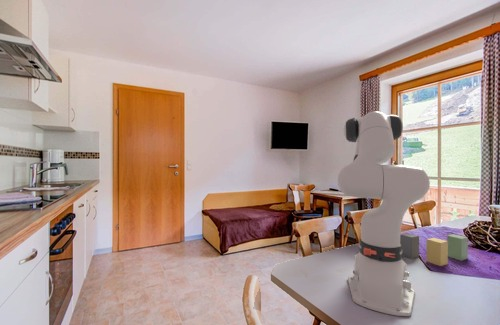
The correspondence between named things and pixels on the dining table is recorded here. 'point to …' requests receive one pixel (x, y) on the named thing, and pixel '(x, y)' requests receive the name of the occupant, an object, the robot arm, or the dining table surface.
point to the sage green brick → (457, 247)
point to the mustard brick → (437, 251)
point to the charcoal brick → (409, 245)
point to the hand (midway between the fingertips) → (415, 195)
